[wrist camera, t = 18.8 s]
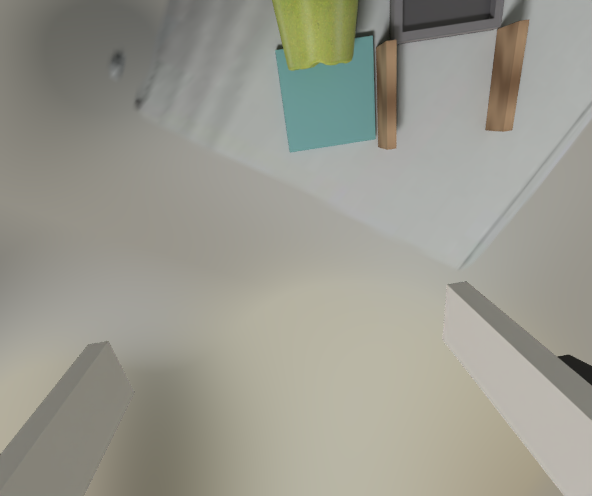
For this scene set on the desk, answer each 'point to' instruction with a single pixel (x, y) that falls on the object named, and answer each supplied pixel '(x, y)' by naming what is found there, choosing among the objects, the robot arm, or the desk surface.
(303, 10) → the plant pot
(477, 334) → the robot arm
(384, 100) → the channel
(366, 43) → the pad
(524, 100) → the desk surface
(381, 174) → the desk surface
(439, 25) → the tray
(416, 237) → the desk surface
